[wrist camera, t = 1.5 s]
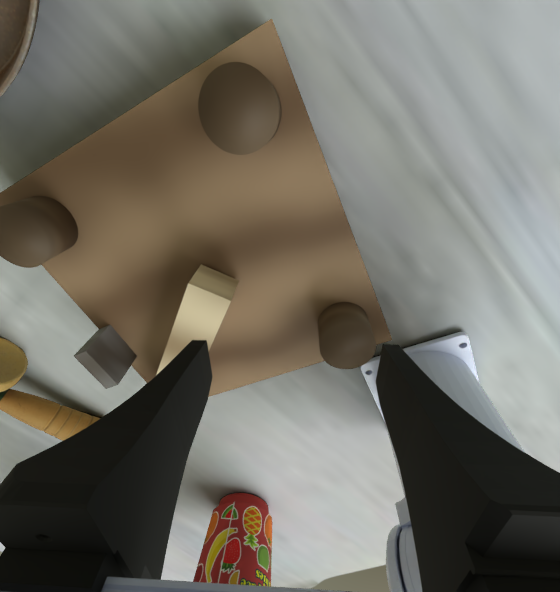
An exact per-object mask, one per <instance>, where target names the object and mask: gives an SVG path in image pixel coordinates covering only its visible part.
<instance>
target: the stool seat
mask: <svg viewBox="0 0 560 592" xmlns="http://www.w3.org/2000/svg"><path fill="white" fill-rule="evenodd" d="M0 256H1V257H3V258H4V259H6V260H7V261H9V262H11V263H13V264H15V265H18V266H21V267H36V266H39V265H42V266H43V267H44V268H45V269H46V270H47V271H48V272H49V274H50V275H51V276H52V277H53V278H54V279H55V280H56V281H57V283H58V284H59V285H60V286H61V287H62V288H63V289H64V290H65V291H66V293H67V294H68V295H69V296H70V297H71V298H72V299H73V300H74V302H75V303H76V304H77V305H78V306H79V307H80V308H81V309H82V311H83V312H84V313H85V314H86V315H87V316H88V317H89V318H90V319H91V321H92V322H93V323H94V324H95V325H96V326H97V327H98V328H99V330H98V331H97V332H96V333H95V334H94V335H93V336H92V337H91V338H90V339H89V340H88V341H87V342H86V344H85V345H84V346H83V347H82V348H81V349H80V350H79V351H78V352H77V353H76V354H75V355H74V357H75V358H76V359H77V360H78V361H79V362H80V363H81V364H82V365H83V366H84V367H85V368H86V369H87V370H88V371H89V372H90V373H91V374H92V375H93V376H94V377H95V378H96V379H97V380H98V381H99V382H100V383H101V384H102V385H103V386H104V387H105V388H106V389H107V388H110V387H113V386H115V385H118V384H119V382H120V381H121V379H122V378H123V376H124V375H125V373H126V372H127V370H128V369H129V368H130V366H131V365H132V367H133V368H134V369H135V370H136V371H137V372H138V373H139V374H140V376H141V377H142V378H143V379H144V380H145V381H146V382H147V383H148V382H149V381H151V380H152V379H153V378H154V377H155V376H156V374H157V371H158V368H159V365H160V363H161V360H162V357H163V354H164V351H165V348H166V345H167V343H168V340H169V337H170V334H171V331H172V328H173V325H174V322H175V320H176V317H177V314H178V311H179V308H180V305H181V302H182V300H183V297H184V294H185V291H186V288H187V285H188V283H189V281H190V280H191V278H192V277H193V275H194V274H195V272H196V271H197V270H198V268H199V267H200V265H201V264H202V265H204V266H206V267H209V268H211V269H213V270H216V271H218V272H220V273H223V274H225V275H227V276H230V277H232V278H234V279H237V280H239V282H238V285H237V287H236V290H235V292H234V295H233V298H232V300H231V302H230V305H229V307H228V309H227V311H226V314H225V316H224V318H223V320H222V323H221V325H220V327H219V329H218V332H217V334H216V336H215V338H214V341H213V343H212V345H211V347H210V350H209V357H210V363H211V370H212V376H213V377H212V382H211V387H210V391H209V396H213V395H216V394H219V393H222V392H226V391H229V390H232V389H235V388H238V387H242V386H245V385H248V384H251V383H255V382H258V381H261V380H264V379H268V378H271V377H274V376H277V375H281V374H284V373H287V372H290V371H294V370H297V369H300V368H303V367H307V366H310V365H313V364H316V363H319V362H323V361H326V362H327V363H328V364H330V365H331V366H333V367H336V368H340V369H353V368H357V367H360V366H362V365H364V364H366V363H367V362H368V361H369V360H370V359H371V358H372V357H373V355H374V354H375V351H376V345H378V344H381V343H384V342H388V341H391V340H392V338H391V335H390V332H389V330H388V327H387V324H386V322H385V319H384V316H383V314H382V311H381V308H380V306H379V303H378V300H377V298H376V295H375V292H374V290H373V287H372V284H371V282H370V279H369V276H368V274H367V271H366V268H365V266H364V263H363V260H362V258H361V255H360V252H359V250H358V247H357V244H356V242H355V239H354V236H353V234H352V231H351V228H350V226H349V223H348V220H347V218H346V215H345V212H344V210H343V207H342V204H341V202H340V199H339V196H338V194H337V191H336V188H335V186H334V183H333V180H332V178H331V175H330V172H329V170H328V167H327V164H326V162H325V159H324V156H323V154H322V151H321V148H320V146H319V143H318V140H317V138H316V135H315V132H314V130H313V127H312V124H311V122H310V119H309V116H308V114H307V111H306V108H305V106H304V103H303V100H302V98H301V95H300V92H299V90H298V87H297V84H296V82H295V79H294V76H293V74H292V71H291V68H290V66H289V63H288V60H287V58H286V55H285V52H284V50H283V47H282V44H281V42H280V39H279V36H278V34H277V31H276V28H275V26H274V23H273V20H272V19H270V20H269V21H267V22H266V23H264V24H263V25H261V26H260V27H258V28H256V29H255V30H253V31H252V32H250V33H249V34H247V35H245V36H244V37H242V38H241V39H239V40H238V41H236V42H235V43H233V44H231V45H230V46H228V47H227V48H225V49H224V50H222V51H221V52H219V53H217V54H216V55H214V56H213V57H211V58H210V59H208V60H207V61H205V62H203V63H202V64H200V65H199V66H197V67H196V68H194V69H193V70H191V71H189V72H188V73H186V74H185V75H183V76H182V77H180V78H179V79H177V80H175V81H174V82H172V83H171V84H169V85H168V86H166V87H165V88H163V89H161V90H160V91H158V92H157V93H155V94H154V95H152V96H151V97H149V98H147V99H146V100H144V101H143V102H141V103H140V104H138V105H137V106H135V107H133V108H132V109H130V110H129V111H127V112H126V113H124V114H122V115H121V116H119V117H118V118H116V119H115V120H113V121H112V122H110V123H108V124H107V125H105V126H104V127H102V128H101V129H99V130H98V131H96V132H94V133H93V134H91V135H90V136H88V137H87V138H85V139H84V140H82V141H80V142H79V143H77V144H76V145H74V146H73V147H71V148H70V149H68V150H66V151H65V152H63V153H62V154H60V155H59V156H57V157H56V158H54V159H52V160H51V161H49V162H48V163H46V164H45V165H43V166H42V167H40V168H38V169H37V170H35V171H34V172H32V173H31V174H29V175H28V176H26V177H24V178H23V179H21V180H20V181H18V182H17V183H15V184H14V185H12V186H10V187H9V188H7V189H6V190H4V191H3V192H1V193H0ZM209 396H208V397H209Z"/></svg>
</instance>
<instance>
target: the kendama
mask: <svg viewBox="0 0 560 592" xmlns="http://www.w3.org/2000/svg"><path fill="white" fill-rule="evenodd" d="M27 365H28V361H27V358H26V355H25V353H24V352H23V351H22V349H21V348H19V347H18V346H17V345H15V344H14V343H12V342H10V341H8V340H6V339H4V338H1V337H0V410H2V411H4V412H6V413H7V414H9V415H11V416H13V417H15V418H16V419H18V420H20V421H22V422H24V423H26V424H28V425H30V426H32V427H34V428H36V429H39V430H41V431H44V432H45V433H47V434H50V435H52V436H55V437H56V438H58V439H60V440H63V441H64V440H66V439H67V438H69V437H71V436H73V435H75V434H76V433H78V432H80V431H81V430H83V429H85V428H87V427H88V426H90V425H91V424H93V423H94V422H96V421H97V420H99V419H101V418H98V417H95V416H91V415H89V414H86V413H83V412H80V411H77V410H75V409H71V408H69V407H66V406H64V405H62V406H61V405H60V404H58V403H55V402H53V401H50V400H47V399H44V398H41V397H38V396H35V395H31V394H28V393H24V392H20V391H16V390H13V389H9V388H11V387H12V386H14V385H15V384H16V383H17V382H18V381H19V380H20V378H21V377H22V376H23V374H24V373H25V371H26V369H27Z"/></svg>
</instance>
